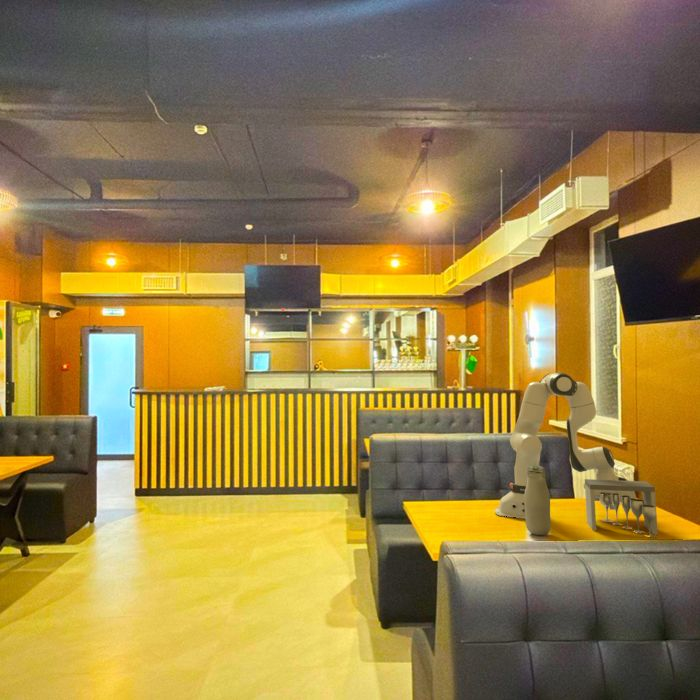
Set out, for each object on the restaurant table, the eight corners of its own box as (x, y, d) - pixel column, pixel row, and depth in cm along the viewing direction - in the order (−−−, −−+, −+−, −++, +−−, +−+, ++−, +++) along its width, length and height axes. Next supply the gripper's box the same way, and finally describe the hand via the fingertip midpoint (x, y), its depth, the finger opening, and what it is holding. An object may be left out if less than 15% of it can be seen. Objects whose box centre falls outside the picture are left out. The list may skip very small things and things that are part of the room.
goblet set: (661, 537, 185) (659, 503, 186) (649, 538, 184) (647, 504, 185) (608, 518, 212) (606, 489, 213) (597, 519, 211) (595, 489, 212)
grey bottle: (526, 537, 189) (522, 467, 191) (526, 529, 198) (523, 463, 200) (552, 539, 185) (548, 468, 187) (551, 531, 195) (547, 464, 197)
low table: (592, 530, 196) (589, 484, 197) (587, 522, 207) (584, 479, 209) (657, 534, 189) (654, 487, 190) (648, 526, 200) (645, 481, 202)
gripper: (583, 477, 220) (588, 503, 210) (632, 479, 214) (640, 506, 204) (582, 485, 224) (587, 511, 214) (630, 487, 218) (637, 514, 208)
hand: (613, 509), depth 209 cm, fingers closed
